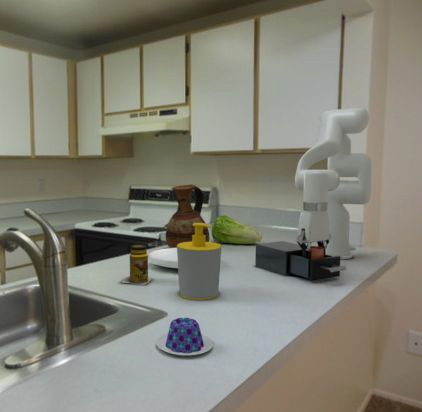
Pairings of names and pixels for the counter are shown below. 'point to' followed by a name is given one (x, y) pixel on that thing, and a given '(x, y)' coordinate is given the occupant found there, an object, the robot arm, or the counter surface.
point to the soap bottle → (199, 266)
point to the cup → (316, 252)
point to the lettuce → (234, 232)
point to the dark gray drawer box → (275, 256)
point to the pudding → (184, 338)
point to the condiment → (138, 266)
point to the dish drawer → (314, 266)
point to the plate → (164, 257)
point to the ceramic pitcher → (185, 216)
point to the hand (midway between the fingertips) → (313, 260)
